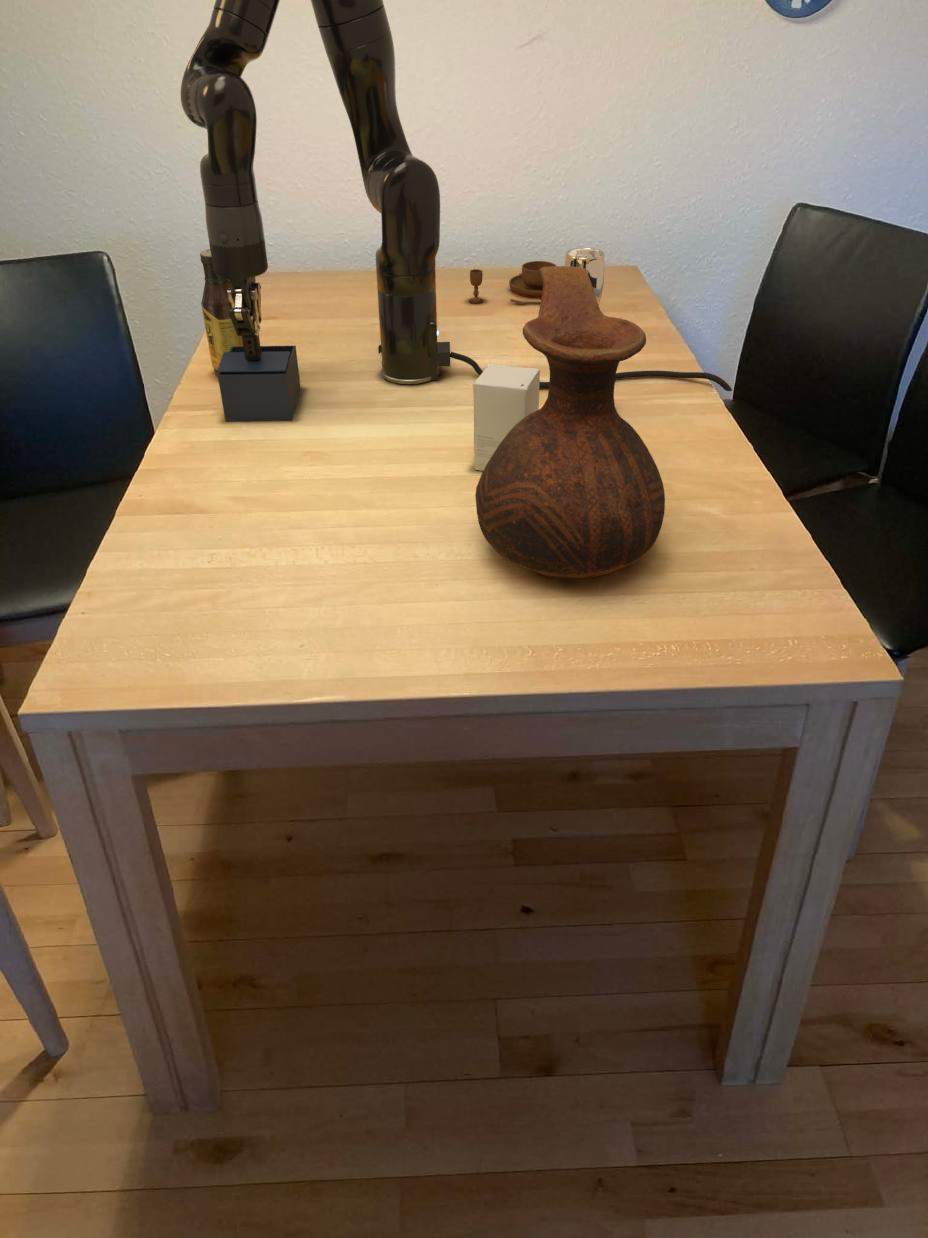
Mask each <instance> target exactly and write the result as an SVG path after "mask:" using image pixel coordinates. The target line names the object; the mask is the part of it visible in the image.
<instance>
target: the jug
mask: <svg viewBox="0 0 928 1238" xmlns="http://www.w3.org/2000/svg"><path fill="white" fill-rule="evenodd" d="M538 273H539V275H540V277H541V279H542V284H543V291H542V298H540V302H541V303H539V310H538V316H537V317H535V318H534V319H531V320H529V321H527V322H525V324H524V325H523V327H522V336H523V337H524V339H525V341H526V342H527V343H528V344H529V346H531V347H532V348H533V349H534V350H535V351H538V352H539V353H540V354H542V355H543V356H545V358H546V361H547V363H548V368H549V381H548V382H549V388H548V393H547V397H546V400H545V402H544V404H543V405H542V406H541V408H539V410H537V411H535V412H533V413H530V414H529V415H528V416H525V418H523V419H522V420H521V421H520V422H518V423H517V424H516V425H515V426H514V427H513V428H512V429H511V430H510V431H509V433H508V434H507V435H506V437H505V438H504V439H503V440H502V442H501V443H500V444H499V446H498V447H497V449H496V450H495V452H494V454H493V455H492V457H491V458H490V460H489V461H488V463H487V465H486V467H485V469H484V471H482V473H481V474H480V477H479V479H478V483H477V485H476V488H475V506H476V516H477V521H478V525H479V529H480V531H481V534H482V536H483V537H484V539H485V540H486V541H487V543H488V544H490V546H491V547H492V548H493V550H495V552H496V553H497V554H498V555H499V556H501V557H502V558H503V559H504V560H506V561H508V562H510V563H512V564H514V565H516V566H519V567H521V568H523V569H526V570H529V571H532V572H535V573H537V574H539V575H541V576H545V577H549V578H554V579H589V578H596V577H601V576H604V575H608V574H611V573H614V572H616V571H619V570H620V569H623V568H625V567H627V566H629V565H632V564H634V563H635V562H637V561H639V560H640V559H642V558H643V557H644V556H645V555H646V554H647V553H648V552H649V551H650V549H652V548H653V546H654V544H655V543H656V541H657V539H658V537H659V535H660V532H661V530H662V527H663V523H664V518H665V511H666V510H665V509H666V508H665V507H666V495H665V487H664V482H663V480H662V476H661V474H660V471H659V468H658V466H657V464H656V462H655V460H654V458H653V456H652V453H650V450H649V448H648V447H647V445H646V443H645V442H644V440H643V439H642V437H641V436H640V435H639V433H638V432H637V431H636V430H635V428H634V427H633V426H632V424H630V423H629V422H628V421H626V420H625V419H623V417H621V416H620V414H619V412H618V410H617V409H616V406H615V383H616V379H615V376H616V373H617V371H618V368H619V367H618V366H619V365H620V362H623V361H627V360H629V359H630V358H632V357H634V356H635V355H637V354H638V353H640V352H641V351H642V350H643V349H644V347H645V346H646V345H647V336H646V332H645V331H644V330H643V329H642V328H641V327H640V326H639V325H638V324H636V323H635V322H632V321H630V320H627V319H625V318H619V317H615V316H614V317H613V316H608V315H605V314H604V313H603V312H602V310H601V309H600V305H599V306H598V303H597V300H596V297H595V293H594V290H593V287H592V284H591V281H590V278H589V275H588V273H587V271H586V269H585V268H582V267H569V266H565V265H561V266H559V265H558V266H557V265H556V266H551V267H542V268H540V269H539V270H538Z"/></svg>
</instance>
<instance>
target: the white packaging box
mask: <svg viewBox="0 0 928 1238" xmlns="http://www.w3.org/2000/svg"><path fill="white" fill-rule="evenodd" d="M482 371H483V372H482V374H481V375H480V376H479V375H478V377H476V379H475V380H474V381H473V383H472V392H473V394H472V395H473V396H472V397H473V453H474V456H473V457H474V458H473V459H474V461H473V462H474V470H475V471H481V472H483V471H484V469H485V467H486V465H487V463H488V461H489V460H490V458H491V457H492V455H493V454H494V452H495V450H496V449H497V447H498V446H499V444H500V443H501V442H502V440H503V439H504V438H505V437H506V435H507V434H508V433H509V431H510V430H511V429H512V428H513V427H514V426H515V425H516V424H517V423H518V422H520V421H521V420H522V419H523V418H525V416H528V415H529V414H530V413H533V412H535V411H537V410H539V409H540V388H539V382H540V379H541V378H540V376H541V375H540V374H541V370H540V368H532V367H522V366H513V365H504V364H498V363H497V364H495V363H489V364H488V365H487V366H486V367H485V368H484V370H482Z"/></svg>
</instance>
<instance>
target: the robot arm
mask: <svg viewBox="0 0 928 1238" xmlns="http://www.w3.org/2000/svg"><path fill="white" fill-rule="evenodd" d="M280 2H281V0H215V2H214V5H213V9H212V13H211V16H210V20H209V23H208V26H207V28H206V29H205V30H204V33H203V34H202V36H201V37H200V39H199V41H198V43H197V45H196V46H195V49H194V51H193V53H192V54H191V57H190V58H189V60H188V62H187V65H186V67H185V69H184V71H183V75H182V79H181V85H180V92H179V93H180V104H181V108H182V110H183V112H184V114H185V116H186V117H187V118H188V120H189V121H190V122H192V123H193V125H195V126H198V127H199V128H202V129H205V130H206V132H207V153H206V154H205V155H203V156H202V158H201V159H200V163H199V173H200V181H201V187H202V193H203V194H202V195H203V200H204V207H205V226H206V231H207V238H208V243H209V249H210V251H211V257H212V263H213V270H214V272H215V273H216V274H217V275H218V276H220V277H226V278H228V279H229V280H230V282H231V283H230V287H231V288H228V298H229V301H230V302H231V305H232V308H229V311H228V313H229V315H230V318H231V321H232V323H233V326H234V328H235V331H236V333H237V336H242V340H243V347H244V354H245V359H246V360H248V361H258V360H259V359H260V357H261V347H260V346H261V339H260V330H261V326H260V324H261V323H262V302H261V301H262V296H261V295H262V294H261V292H262V291H261V290H262V285H261V283H260V282H256V277H260V276H261V275H263V274H265V273H266V272H267V271H268V269H269V264H268V263H269V262H268V257H267V256H268V255H267V247H266V240H265V239H266V238H265V231H264V223H263V217H262V213H261V208H260V205H259V198H258V197H259V196H258V191H257V189H258V188H257V182H256V177H255V176H256V175H255V170H254V162H255V154H256V143H257V142H256V141H257V129H258V128H257V127H258V115H257V108H256V107H257V106H256V103H255V99H254V95H253V93H252V90H251V88H250V86H249V84H248V83H247V82H246V80H244V78H242V76H243V73H244V71H245V70H246V67H247V65H249V64H250V63H251V62H254V61H256V60H259V58H261V56H262V55H263V53H264V51H265V48H266V46H267V43H268V40H269V37H270V33H271V30H272V27H273V24H274V21H275V17H276V14H277V11H278V8H279V5H280ZM310 3H311V6H312V7H311V8H312V10H313V13H314V17H315V21H316V24H317V25H316V26H317V28H318V32H319V34H320V38H321V40H322V44H323V48H324V50H325V54H326V57H327V60H328V62H329V65H330V68H331V71H332V74H333V77H334V80H335V81H334V82H335V84H336V86H337V89H338V93H339V96H340V98H341V101H342V105H343V106H344V109H345V111H346V115H347V117H348V121H349V123H350V127H351V131H352V134H353V138H354V143H355V148H356V153H357V156H358V158H357V159H358V163H359V167H360V168H359V169H360V172H361V178H362V182H363V186H364V190H365V194H366V197H367V199H368V200H369V203H370V204H371V206H372V207H373V208H374V209H375V210H376V211H377V212H378V213H380V215H381V217H380V218H381V245H379V247H377V248H376V250H375V273H376V289H377V290H376V291H377V305H378V323H379V338H380V344H379V345H378V347H377V350H378V351H377V352H378V355H380V356H381V376H382V377H383V379H385V380H386V381H388V382H391V383H394V384H400V385H418V384H424V383H427V382H430V381H438V380H439V368H443V367H444V368H445V367H446V368H447V367H449V368H450V367H451V359H454V360H457V361H461V362H463V363H466V364H468V365H470V366H471V367H472V368H473V370H474V372H475V373H476V374H477V375H478V377H479V376H480V375H481V374H482V372H483V371H484V370H483V369H482V368H481V367H480V365H479V364H478V362H476V360H474V359H473V358H471V357H469V356H467V355H464V354H461V353H457V352H454V351H451V341H438V336H439V330H438V312H437V281H436V279H437V278H436V277H437V276H436V275H437V274H436V258H437V254H438V252H439V248H440V243H441V242H440V241H441V240H440V239H441V191H440V185H439V180H438V177H437V175H436V173H435V171H434V170H433V168H432V167H431V166H430V165H429V164H428V163H427V162H425V161H424V160H422V159H420V158H418V157H416V156H414V155H413V153H412V151H411V149H410V145H409V143H408V141H407V137H406V134H405V131H404V128H403V125H402V122H401V119H400V115H399V111H398V105H397V95H396V94H397V93H396V89H397V87H396V52H395V45H394V38H393V34H392V30H391V26H390V22H389V19H388V16H387V11H386V7H385V5H384V0H310ZM649 377H650V378H652V377H653V378H654V377H657V378H672V379H673V378H674V379H701V380H702V379H704V380H709V381H712V382H714V383H716V384H717V385H719V386H720V387H721V388H722V389H723V390H724V391H726V392H732V391H733V388H732V387H731V386H730V385H729V383H728V382H727V381H725V379H723V378H721V377H720V376H718V375H716V374H713V373H710V372H703V371H689V372H688V371H671V370H633V371H621V372H616V376H615V380H621V379H630V378H649ZM539 389H549V381H539Z"/></svg>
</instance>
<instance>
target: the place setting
mask: <svg viewBox="0 0 928 1238" xmlns="http://www.w3.org/2000/svg"><path fill="white" fill-rule="evenodd" d="M551 266H557V265H556V264H555V263H553V262H550V261H545V260H533V261H532V260H531V261H528V262H525V263H523V264H522V265H521V273H518V275H514V276H513V277H511V278H510V279H509V281H508V284H509V288H510V289H511V291H513V292H514V293H515V294H518V295H519V296H522V297H526V298H533V299H541V298H542V291H543V284H542V279H541V277H540V275H539V273H538V270H539V269H540V268H542V267H551ZM469 282H470V285H471V286H473V296H474V297H473V298H470V299H469V300H468V302H469V303H470V304H473V305H479V304H483V302H484V299H483V298H479V295H480V291H479V286H481V285H482V283H483V270H482V269H478V268H476V269H475V268H473V269H470V270H469ZM509 302H512V303H515V304H517V305H518V304H519V305H525V304H540V303H541V301H519V300H517V299H512V298H510V299H509Z"/></svg>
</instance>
